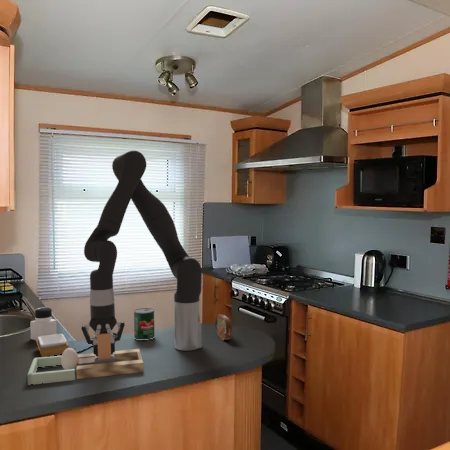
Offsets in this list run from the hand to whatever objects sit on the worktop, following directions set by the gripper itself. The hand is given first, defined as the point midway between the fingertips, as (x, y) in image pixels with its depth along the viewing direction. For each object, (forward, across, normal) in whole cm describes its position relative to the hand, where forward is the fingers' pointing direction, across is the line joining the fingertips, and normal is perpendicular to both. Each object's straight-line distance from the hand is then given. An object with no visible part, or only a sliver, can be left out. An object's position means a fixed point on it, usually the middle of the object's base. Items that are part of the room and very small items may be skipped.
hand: (104, 354), depth 148 cm
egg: (+4, +10, 0) cm, 11 cm away
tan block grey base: (+4, 0, 0) cm, 4 cm away
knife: (+5, +3, -27) cm, 28 cm away
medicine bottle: (+5, +22, -40) cm, 46 cm away
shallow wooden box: (+5, -2, 0) cm, 5 cm away
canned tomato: (+5, -16, -29) cm, 33 cm away
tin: (+6, -46, -21) cm, 50 cm away
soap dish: (+5, +18, -22) cm, 28 cm away
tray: (+4, +16, 0) cm, 16 cm away
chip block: (+4, +6, 0) cm, 7 cm away
